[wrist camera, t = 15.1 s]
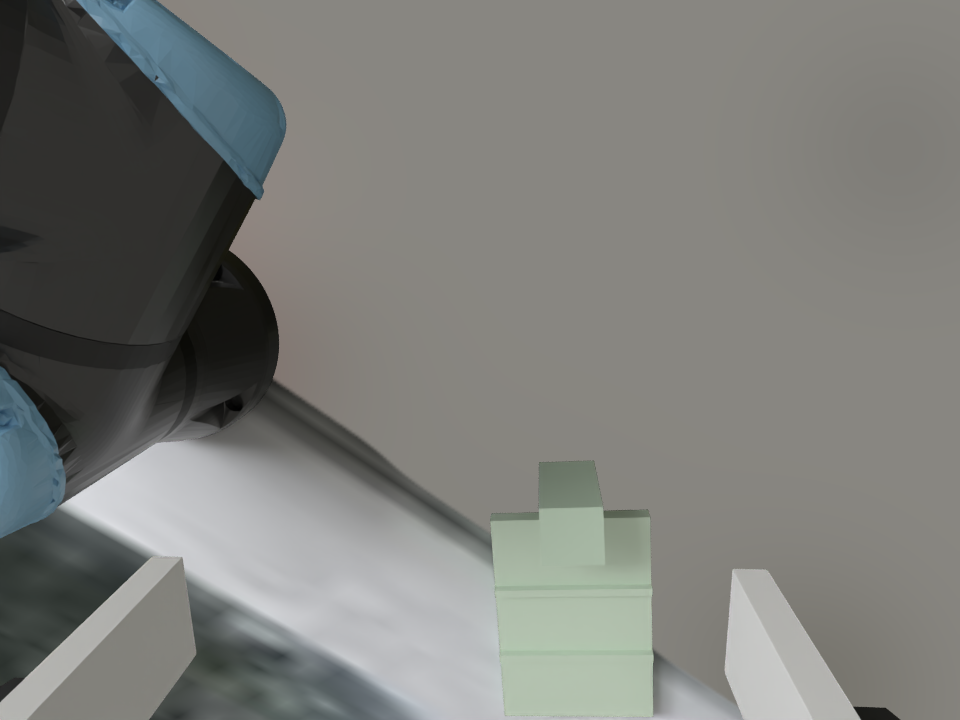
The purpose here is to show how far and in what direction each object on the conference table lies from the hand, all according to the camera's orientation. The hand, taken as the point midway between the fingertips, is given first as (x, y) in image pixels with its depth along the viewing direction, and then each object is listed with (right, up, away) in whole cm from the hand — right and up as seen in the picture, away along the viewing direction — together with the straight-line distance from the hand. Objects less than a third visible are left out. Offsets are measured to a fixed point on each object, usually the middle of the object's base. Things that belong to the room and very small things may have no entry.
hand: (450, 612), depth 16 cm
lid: (+8, -12, +35) cm, 38 cm away
